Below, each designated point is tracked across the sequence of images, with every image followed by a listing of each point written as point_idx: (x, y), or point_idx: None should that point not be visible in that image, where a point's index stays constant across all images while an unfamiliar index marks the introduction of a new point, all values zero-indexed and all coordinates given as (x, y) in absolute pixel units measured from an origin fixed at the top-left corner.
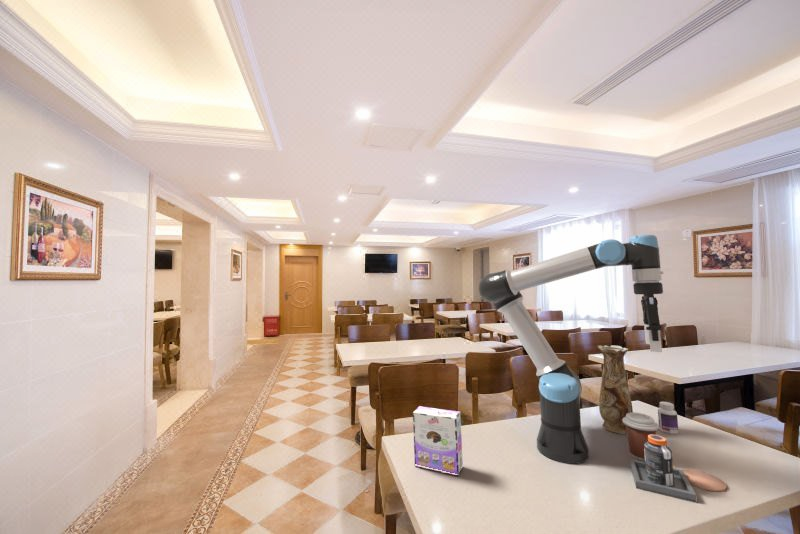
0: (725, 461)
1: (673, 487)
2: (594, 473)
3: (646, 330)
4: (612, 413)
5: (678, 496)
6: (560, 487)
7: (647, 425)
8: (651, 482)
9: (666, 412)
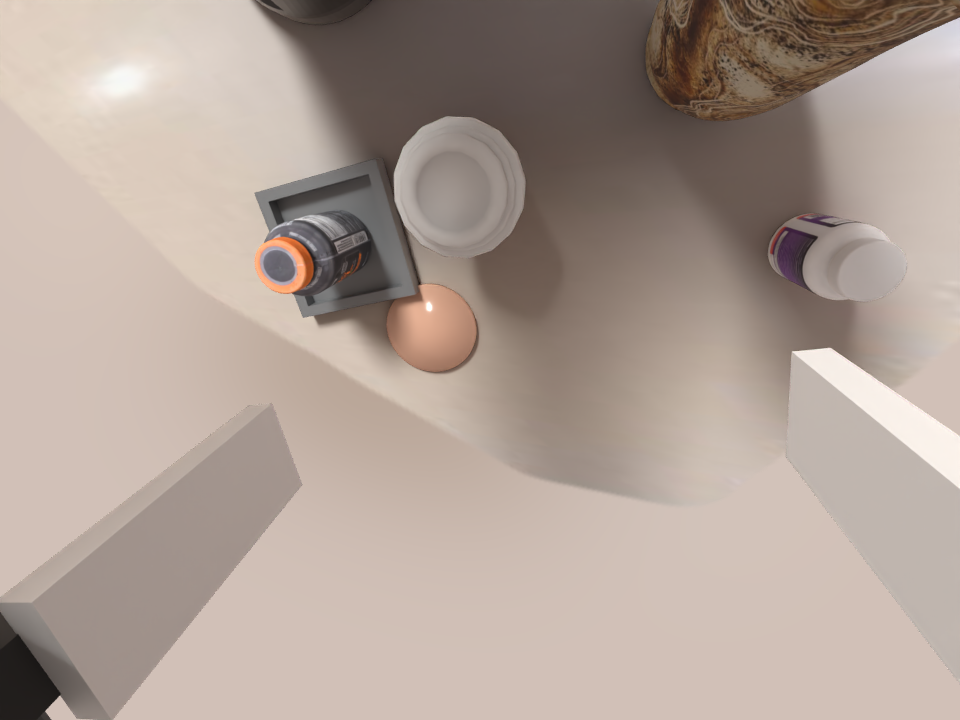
0: (603, 384)
1: None
2: (249, 72)
3: (943, 508)
4: (654, 26)
5: None
6: (97, 6)
7: (412, 225)
8: None
9: (810, 262)
